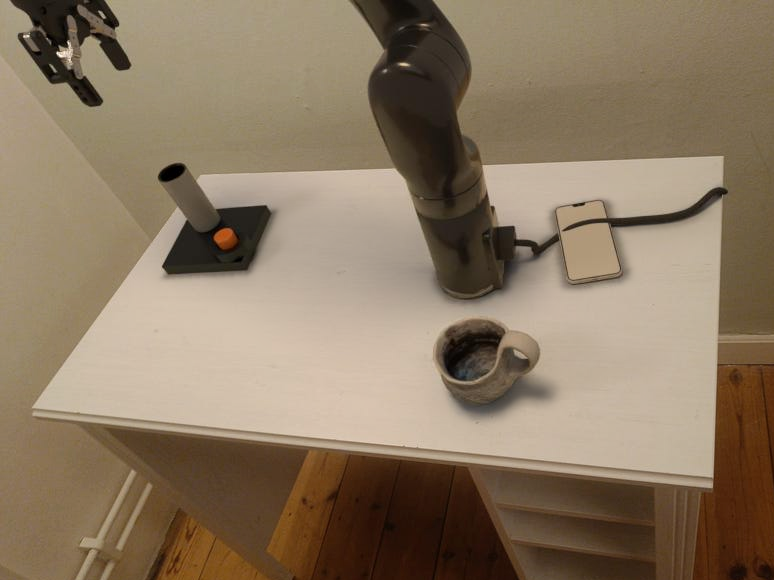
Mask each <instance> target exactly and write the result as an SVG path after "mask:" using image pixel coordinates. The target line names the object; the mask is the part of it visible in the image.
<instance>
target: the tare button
mask: <svg viewBox="0 0 774 580" xmlns="http://www.w3.org/2000/svg"><path fill="white" fill-rule="evenodd" d="M214 240H215V241H216V243H217V244H218V246H219V247H220V248H221V249H222V250H227V249H230V248H232V247H234V246H235V245H236V244H237V243H238V238H237V237H236V235H235V234H234V232H233V231H232V229H229V228H225V229H222V230H220V231H218V232H217V233H216V234H215V236H214Z"/></svg>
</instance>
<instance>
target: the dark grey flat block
mask: <svg viewBox="0 0 774 580" xmlns="http://www.w3.org/2000/svg"><path fill="white" fill-rule="evenodd" d="M215 210H216V211H217V212H218V214H219V216H220V222H219V224H218V225H217V226H216V227H215V228H213V229H212V230H210V231H207V232H197V231H196V230H195V229H194V228H193V226H192V225H191V224H190V222H189V221H188V220H187V219H186V220H185V222H184V224H183V226H182V228H181V230H180V231H179V232H178V235H177V237H176V239H175V241H174V242H173V244H172V246H171V248H170V250H169V252H168V254H167V255H166V257H165V259H164V261H163V262H162V265H161V268H162V269H163V270H164V271H165V273H166V274H167V275H184V274H185V275H188V274H203V273H204V274H205V273H222V272H223V273H225V272H241V271H244V272H245V271H248V270H249V267H250V264H251V262H252V260H253V257H254V255H255V252H256V251H257V248H258V246H259V243H260V241H261V239H262V236H263V235H264V232H265V230H266V227H267V224H268V222H269V221H270V218H271V215H272V212H271V210H270V208H269V207H268V205H267V204H261V205H248V206H246V205H245V206H235V207H221V208H215ZM225 228H229V229H232V231H233V232H234V234H235V235H236V237H237V238H238V243H237V244H236V245H235V246H234V247H232V248H230V249H227V250H222V249H221V248H220V247H219V246H218V244H217V243H216V241H215V240H214V236H215V234H216V233H217V232H218V231H220V230H222V229H225Z"/></svg>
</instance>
